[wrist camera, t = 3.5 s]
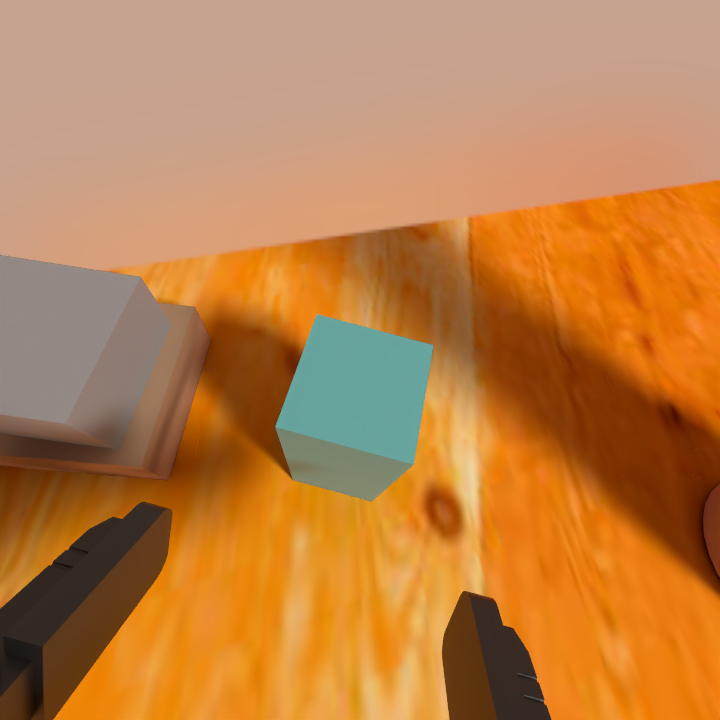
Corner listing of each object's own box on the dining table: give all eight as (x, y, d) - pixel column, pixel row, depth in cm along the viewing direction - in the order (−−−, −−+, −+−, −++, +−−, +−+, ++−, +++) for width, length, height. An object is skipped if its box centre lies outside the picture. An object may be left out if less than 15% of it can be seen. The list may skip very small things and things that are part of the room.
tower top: (171, 324, 20) (140, 276, 17) (118, 449, 17) (65, 423, 13) (42, 305, 20) (-17, 252, 16) (-38, 428, 17) (-133, 395, 13)
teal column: (387, 424, 23) (433, 345, 14) (371, 501, 20) (413, 464, 12) (316, 405, 23) (316, 314, 14) (292, 480, 21) (275, 427, 12)
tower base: (212, 341, 24) (194, 307, 21) (171, 481, 20) (140, 467, 17) (72, 326, 24) (30, 288, 20) (0, 467, 20) (-69, 449, 16)
